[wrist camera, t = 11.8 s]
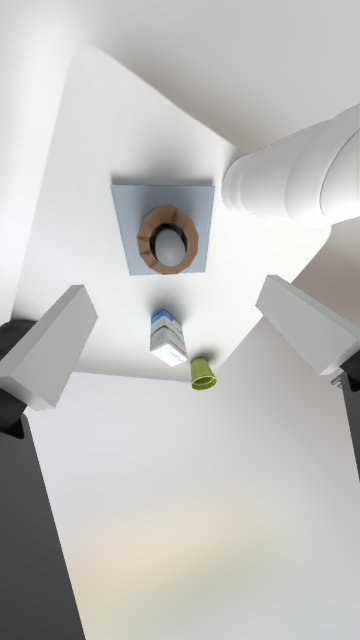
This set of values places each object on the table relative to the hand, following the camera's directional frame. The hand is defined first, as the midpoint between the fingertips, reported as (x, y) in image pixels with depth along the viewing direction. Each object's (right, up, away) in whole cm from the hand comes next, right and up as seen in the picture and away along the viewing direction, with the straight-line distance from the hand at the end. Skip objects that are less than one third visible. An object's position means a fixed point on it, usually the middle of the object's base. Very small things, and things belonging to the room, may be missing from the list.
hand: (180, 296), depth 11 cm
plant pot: (+7, -18, +46) cm, 50 cm away
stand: (-3, +14, +17) cm, 23 cm away
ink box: (-4, -2, +31) cm, 32 cm away
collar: (-2, +13, +16) cm, 21 cm away
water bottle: (+10, +21, +14) cm, 27 cm away
